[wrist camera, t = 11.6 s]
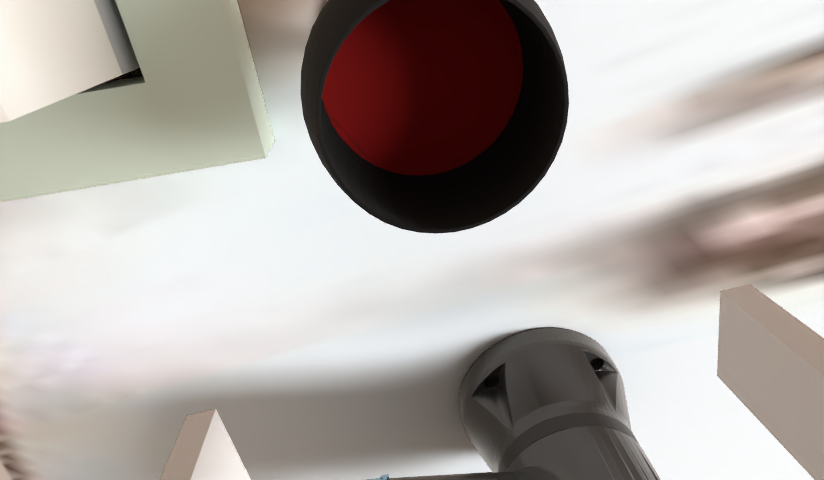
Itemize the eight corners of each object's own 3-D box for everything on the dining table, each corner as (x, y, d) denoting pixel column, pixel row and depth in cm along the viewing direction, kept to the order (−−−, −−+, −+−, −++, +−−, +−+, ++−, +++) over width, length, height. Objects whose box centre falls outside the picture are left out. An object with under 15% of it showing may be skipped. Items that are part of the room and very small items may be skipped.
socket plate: (274, 140, 38) (265, 157, 34) (26, 182, 38) (-10, 203, 34) (191, -167, 30) (168, -187, 26) (-126, -116, 30) (-193, -129, 26)
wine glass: (289, 16, 34) (220, 81, 17) (423, -87, 32) (504, -136, 15) (382, 143, 39) (403, 298, 21) (504, 59, 37) (639, 155, 19)
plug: (152, 62, 35) (9, 121, 21) (77, 74, 35) (-117, 142, 21) (123, -22, 33) (-61, -19, 19) (43, -8, 33) (-203, 4, 18)
